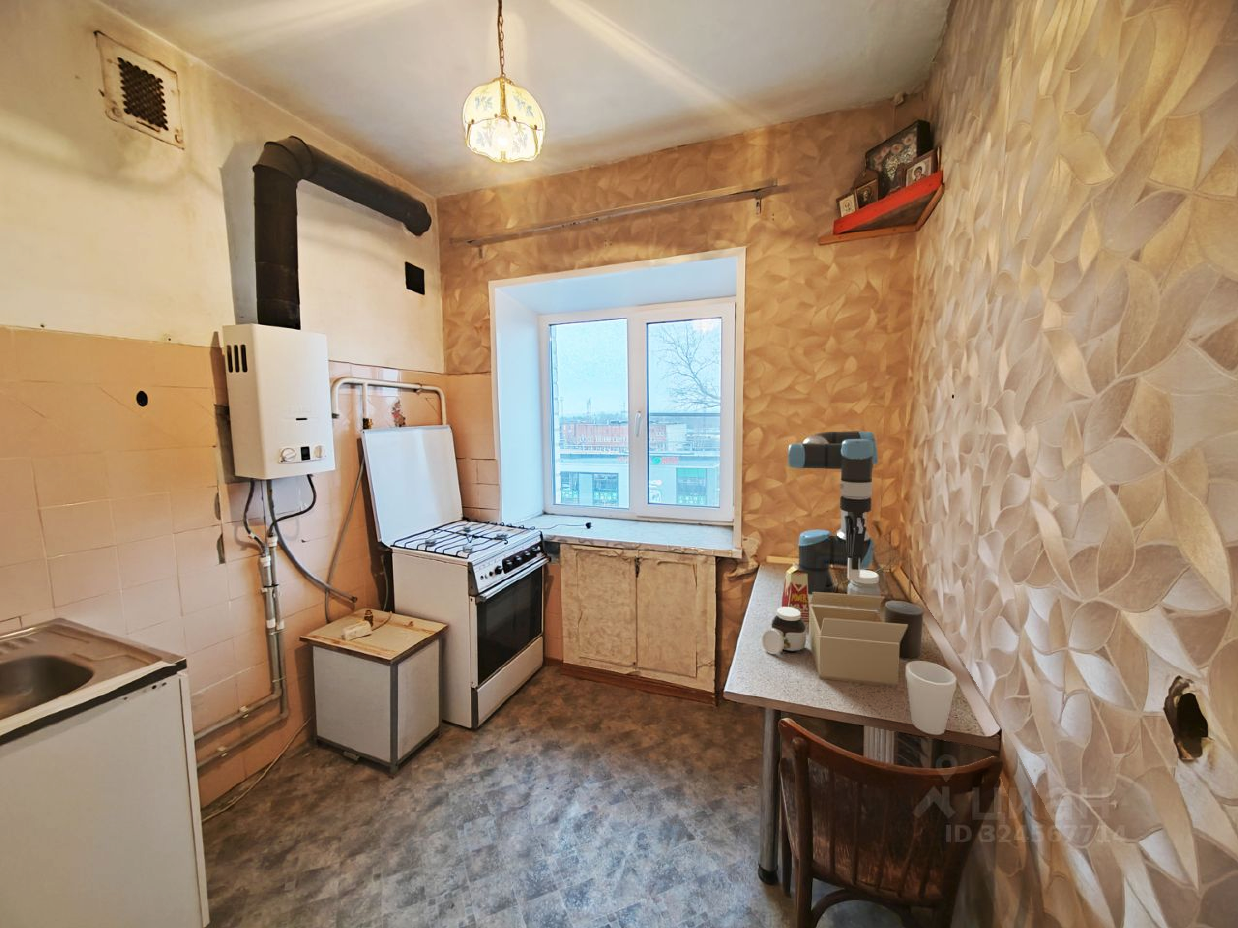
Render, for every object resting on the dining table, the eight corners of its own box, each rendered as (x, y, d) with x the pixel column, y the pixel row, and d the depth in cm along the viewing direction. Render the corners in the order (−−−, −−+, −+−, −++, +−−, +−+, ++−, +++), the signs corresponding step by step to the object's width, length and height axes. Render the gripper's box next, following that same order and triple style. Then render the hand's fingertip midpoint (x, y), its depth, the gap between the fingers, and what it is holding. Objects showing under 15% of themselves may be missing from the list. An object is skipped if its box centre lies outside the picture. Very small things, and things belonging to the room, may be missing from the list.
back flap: (884, 597, 128) (884, 596, 128) (813, 592, 133) (812, 591, 133) (877, 609, 135) (877, 607, 135) (809, 604, 140) (809, 602, 140)
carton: (808, 641, 141) (809, 605, 140) (875, 647, 136) (877, 610, 135) (819, 678, 122) (820, 636, 121) (897, 687, 117) (899, 644, 116)
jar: (847, 628, 148) (848, 576, 146) (846, 616, 157) (847, 566, 155) (881, 634, 144) (882, 580, 142) (878, 620, 153) (880, 570, 151)
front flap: (824, 617, 115) (824, 618, 115) (907, 624, 110) (907, 625, 110) (820, 634, 121) (820, 635, 121) (899, 641, 116) (899, 643, 116)
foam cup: (894, 712, 108) (896, 662, 106) (930, 709, 108) (933, 659, 107) (924, 741, 98) (927, 686, 97) (963, 737, 99) (967, 683, 97)
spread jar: (807, 645, 139) (808, 609, 138) (801, 663, 130) (802, 625, 128) (768, 636, 145) (768, 602, 144) (759, 653, 136) (759, 616, 134)
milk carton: (812, 625, 152) (813, 568, 150) (784, 623, 154) (784, 567, 151) (807, 612, 161) (808, 559, 158) (780, 611, 163) (780, 558, 160)
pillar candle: (901, 661, 129) (904, 612, 127) (875, 644, 138) (877, 598, 136) (929, 656, 131) (932, 607, 129) (901, 640, 140) (903, 594, 139)
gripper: (835, 491, 129) (833, 569, 132) (846, 500, 116) (843, 587, 119) (864, 491, 127) (862, 571, 130) (878, 501, 114) (875, 589, 117)
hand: (853, 579), depth 125 cm, fingers closed
